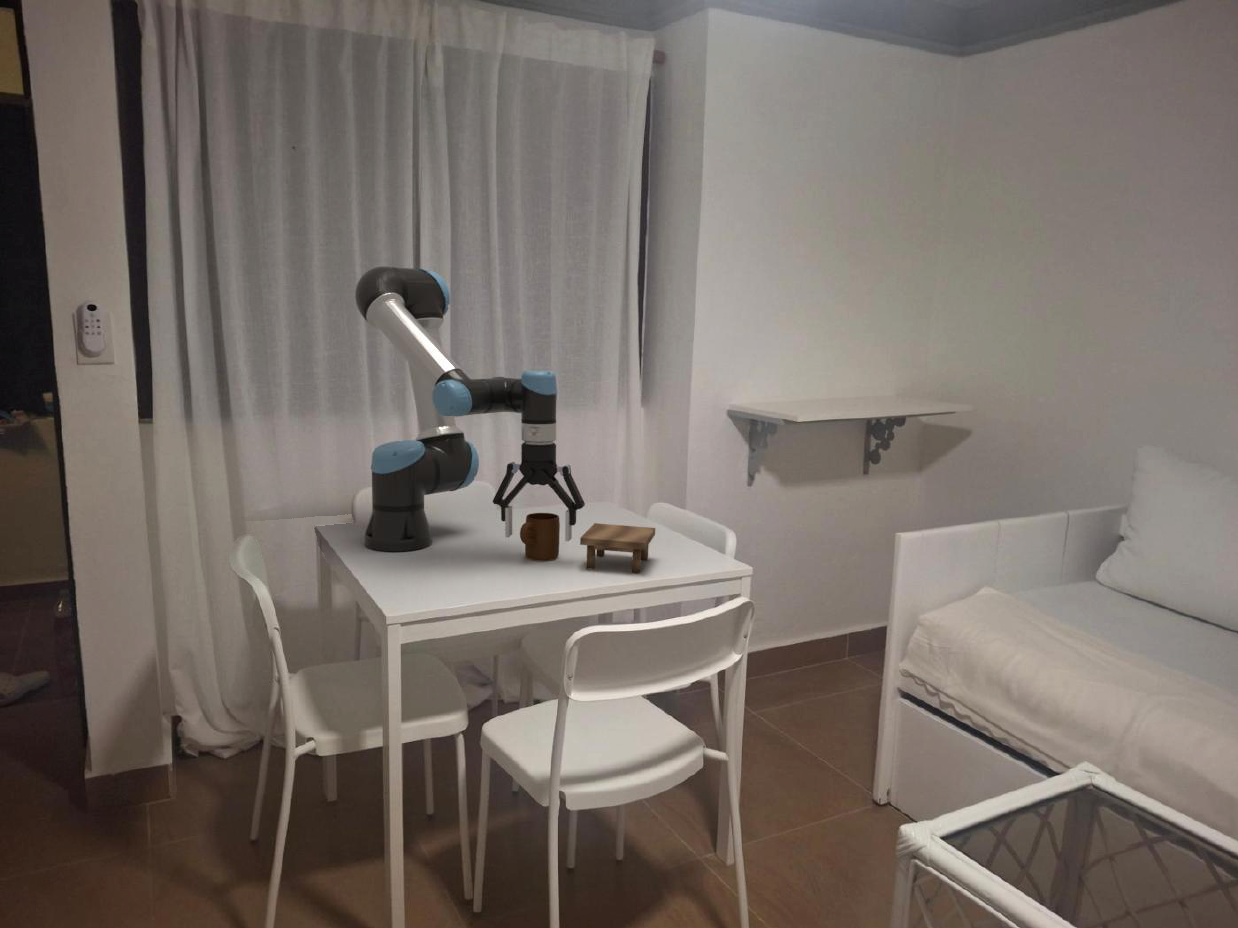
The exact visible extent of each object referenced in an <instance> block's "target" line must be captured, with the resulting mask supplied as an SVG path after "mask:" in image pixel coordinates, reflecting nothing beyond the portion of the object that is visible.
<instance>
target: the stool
mask: <svg viewBox="0 0 1238 928" xmlns="http://www.w3.org/2000/svg"><path fill="white" fill-rule="evenodd" d="M655 535H656V527H648V526H647V527H646V526H635V525H624V524H623V525H620V524H611V523H610V524H609V523H596V522H595V523H593V524H592V525H591V526H590V528H588V529H587V530H586V531H585V533H584V534H582V536H580V539H579V545H581V546H586V569H589V570H593V569H594V570H595V568H596V557H597V558H605V551H607V552H608V551H609V552H621V553H622V552H623V553H632V564H631V565H632V566H631V572H632V573H633V574H640V573H641V572H642V571H641V568H642V567H641V566H642V565H641V564H642V561H643V562H646V561H648V560H649V547H650V546H649V545H650V544H651V542H652V540H653V539H654V537H655Z"/></svg>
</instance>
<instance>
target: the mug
mask: <svg viewBox="0 0 1238 928" xmlns="http://www.w3.org/2000/svg"><path fill="white" fill-rule="evenodd" d="M560 522H561V521H560V516H559V515H558V514H556V513H550V512H533V513H529V514H527V515H526V516H525V522H524V523H523V524H522V525H521V527H520V529H519V530H520V531H519V536H520V537H519V538H520V540H521V542H522V543H523V544H524V547H525V548H524V550H525V551H524V555H525V557H526V558H527V559H528V560H530V561H536V562H548V561H554V560H556V559H557V558H558V557H559V555H560V534H561V533H560V528H561V525H560Z"/></svg>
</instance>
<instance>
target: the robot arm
mask: <svg viewBox="0 0 1238 928" xmlns="http://www.w3.org/2000/svg"><path fill="white" fill-rule="evenodd" d="M448 287H449V286H448V285H447V283H446V281H445V280H444V278H443V277H442V276H441V275H440V274H438V273H437V272H435V271H434V270H428V269H424V268H417V267H416V268H408V267H407V268H406V267H391V266H384V265H382V266H376V267H374V268H371V269H369V270H367V271H366V272H364V274H363V275H362V276H361V277H360V278H359V280H358V282H357V285H356V287H355V292H354V293H355V294H354V297H355V298H354V299H355V304H356V307H357V309H358V311H359V313H360V315H361V316H362V318H363V319H364V320H365V321H366V323H368V324H369V326H370V327H372V328H374V329H378V330H380V331H381V332H382V334H383V335H384V336H385V337H386V338H387V340H388V341H389V342H390V343H391V344H392V346H394V347H395V348H396V350H397V351H398V352H399V353H400V354H401V355H402V356H403V358H404V359H405V360H406V361H407V364H408V370H409V371H408V372H409V376H410V382H411V386H412V392H413V397H414V403H415V408H416V409H415V410H416V414H417V420H418V421H417V422H418V427H419V431H420V432H419V434H418V435H417V437H416V438H415V440H414V439H413V440H412V439H406V440H405V439H403V440H396V441H395V440H394V441H390V442H386V443H383V444H382V443H381V444H380V445H378V446H376V448H374V449H373V452H372V455H371V465H370V469H371V502H372V507H371V508H372V511H371V515H370V518H369V522H368V523H367V527H366V529H365V533H364V545H365V546H366V547H367V548H368V549H372V550H375V551H380V552H407V551H408V552H409V551H416V550H419V549H420V550H421V549H424V548H427V547H430V546H431V544H432V543H433V533H432V530H431V527H430V523H429V520H428V517H427V515H426V513H425V496H427V495H433V494H434V495H435V494H440V493H447V492H454V491H458V490H461V489H464V488H467V487H468V486H469V485H471V484H472V483H473V482H474V480H475V477H477V475H478V471H479V465H480V460H479V458H480V457H479V454H478V453H479V452H478V450H477V448H476V447H474V444H473V443H472V442H470V441H468V440H466V437H465V432H464V431H463V430H462V429H460V428H459V427H458V426H457V424H456V423H457V422H456V418H457V417H464V416H473V415H482V414H495V413H497V414H498V413H518V414H521V417H520V418H521V419H520V420H521V424H520V425H521V427H520V428H521V441H523V442H522V443H521V449H520V450H521V452H520V453H521V454H520V455H521V456H520V457H521V463H516V462H515V461H512V462H509V463H507V465H506V470H505V474H504V477H503V479H502V481H501V483H500V485H499V487H498V489H497V491H496V493H495V495H494V497H493V500H492V503H493V505H498V506H499V507H500V513H501V514H500V515H501V517H500V520H501V521H502V522H504V524H505V525H504V526H505V528H504V531H505V533H504V535H505V536H504V537H505V538H510V537H511V536H513V505H510V503H512V501H513V500H514V499H515V498H516V497H517V496H518V495H519V493H520V492H521V491H522V490H523V488H525V486H526V485H527V484H530V485H531V486H535V485H539V486H546V485H548V486H549V487H550V489H552V490H553V491H554V493H555V494H556V495H557V497H558V498H559V499H560V500H561V502H562V503H563V505H564V506H565V507H566V508H567V510H566V511H565V513H564V515H565V516H564V517H565V518H564V519H565V521H564V523H565V526H564V527H565V528H564V529H565V530H564V532H565V534H564V535H565V536H564V538H565V539H564V541H565V542H569V541H571V539H572V535H573V533H572V528H573V526H575V525H576V523H577V510H581V509H582V508H584V507H585V505H586V503H585V501H584V499H583V497H582V494H581V492H580V491H579V488H578V486H577V484H576V481H575V480H574V478H573V476H572V475H573V474H572V469H571V465H569V464H566V465H561V466H560V465H558V464H557V444H556V443H555V442H556V441H557V397H558V389H557V376H556V374H555V372H554V371H551V370H532V369H531V370H523V372H522V373H521V377H520V378H514V377H513V378H512V377H511V378H510V377H505V376H491V377H490V376H489V377H487V378H472V379H471V378H470V377H469V376H468V375H467V374H466V373H465V372H464V371H463V370H462V369H461V368H460V367H459V365H458V364H457V363H456V362H455V361H454V360H453V358H451V356H450V355H449V354H448V353H447V352H446V351H445V349H443V345H442V339H441V333H440V328H441V326H442V325H443V324H444V322H445V320H444V316H445V315H446V314H447V312H448V311H449V305H450V303H451V296H450V290H449V288H448ZM455 417H456V418H455ZM518 471H519V472H520V474H522V476H523V477H522V478H521V479H520V480H519V481H518V483H517V484H516V485H515V487H514V488H513V489H511V490H510V492H509V493H508V495H506V497H504V496H505V493H506V492H507V490H508V488H509V485H510V483H511V482H512V480H513V478H514V476H515V474H517V472H518ZM557 473H559V474H560V476H561V477H563V480H564V482H565V485H566V486H567V489H568V491H569V494H571V496H570V495H569V494H568V492H566V489H564V488H563V486H562V485H561V483H560V482H559V480H558V478H556V477H555V476H556V475H557ZM503 497H504V499H503ZM571 497H572V498H571Z"/></svg>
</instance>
